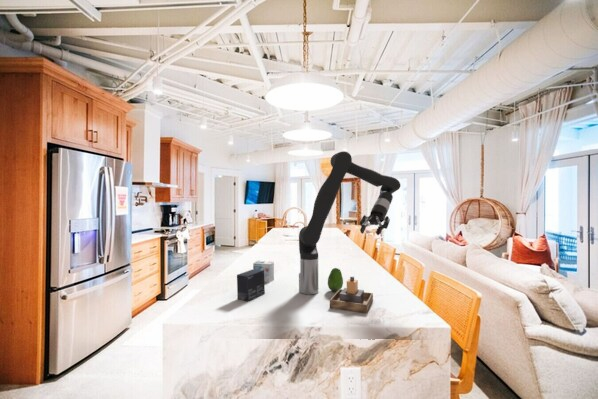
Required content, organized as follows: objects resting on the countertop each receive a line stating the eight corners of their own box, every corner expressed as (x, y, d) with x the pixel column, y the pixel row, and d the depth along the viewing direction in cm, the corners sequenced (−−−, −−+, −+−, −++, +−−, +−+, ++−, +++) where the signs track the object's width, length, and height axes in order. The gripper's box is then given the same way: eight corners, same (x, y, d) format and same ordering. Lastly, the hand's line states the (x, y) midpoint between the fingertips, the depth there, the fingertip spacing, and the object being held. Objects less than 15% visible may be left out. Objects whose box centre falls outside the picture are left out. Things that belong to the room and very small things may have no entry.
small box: (254, 291, 151) (254, 268, 151) (265, 293, 147) (264, 270, 147) (236, 299, 140) (236, 274, 139) (247, 302, 136) (247, 276, 136)
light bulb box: (252, 281, 169) (252, 262, 169) (257, 278, 175) (257, 260, 175) (270, 282, 166) (269, 264, 166) (274, 279, 172) (274, 261, 172)
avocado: (342, 294, 146) (342, 270, 146) (327, 293, 147) (326, 269, 147) (343, 289, 154) (343, 266, 154) (328, 288, 155) (328, 265, 155)
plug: (346, 303, 131) (346, 277, 131) (349, 300, 135) (349, 275, 135) (355, 305, 129) (355, 278, 129) (357, 302, 133) (357, 276, 133)
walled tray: (329, 307, 128) (329, 295, 128) (339, 296, 142) (339, 284, 142) (366, 313, 122) (366, 299, 121) (372, 300, 136) (372, 288, 136)
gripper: (365, 203, 153) (353, 227, 145) (391, 203, 144) (380, 229, 135) (370, 213, 157) (359, 236, 149) (396, 214, 148) (385, 239, 139)
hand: (369, 233), depth 142 cm, fingers open, 8 cm apart
